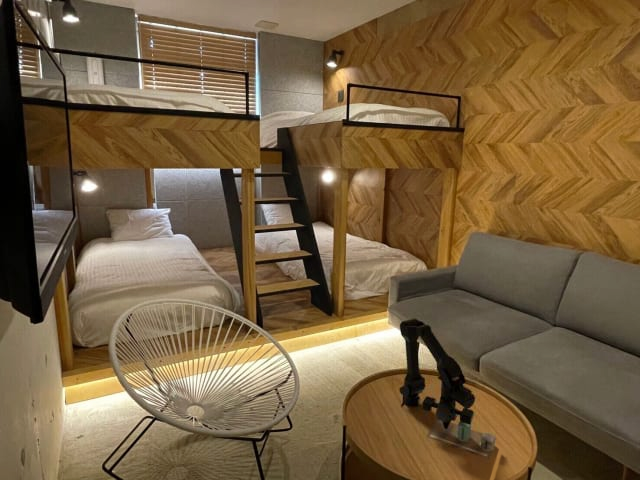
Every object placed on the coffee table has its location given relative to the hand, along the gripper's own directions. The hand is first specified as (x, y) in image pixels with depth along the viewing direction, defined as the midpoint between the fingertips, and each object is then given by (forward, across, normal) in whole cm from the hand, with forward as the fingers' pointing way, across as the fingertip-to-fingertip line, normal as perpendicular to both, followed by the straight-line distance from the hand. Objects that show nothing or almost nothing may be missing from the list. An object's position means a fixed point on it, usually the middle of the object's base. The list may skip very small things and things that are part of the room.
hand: (446, 428), depth 170 cm
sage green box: (+2, +7, 0) cm, 7 cm away
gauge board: (+3, +6, 0) cm, 7 cm away
